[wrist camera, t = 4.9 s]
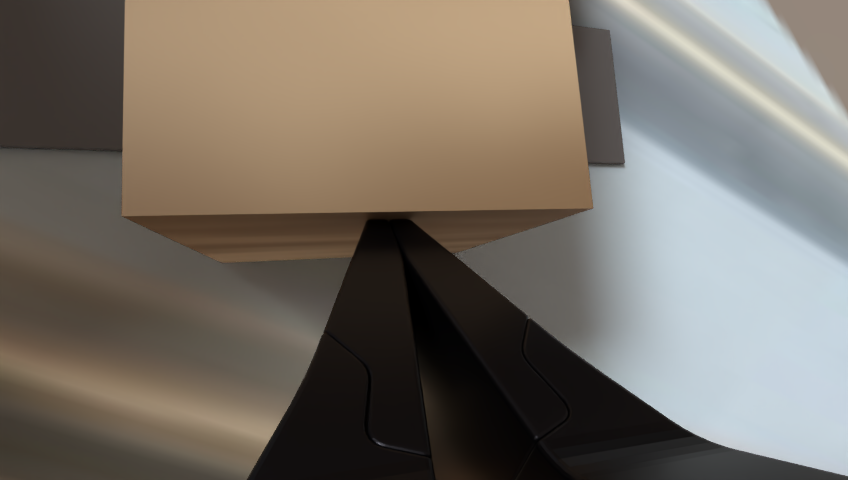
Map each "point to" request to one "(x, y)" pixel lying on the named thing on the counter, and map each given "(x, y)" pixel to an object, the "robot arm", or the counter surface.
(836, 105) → the counter surface
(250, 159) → the oak block
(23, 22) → the trap mat left
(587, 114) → the plate
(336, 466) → the robot arm
